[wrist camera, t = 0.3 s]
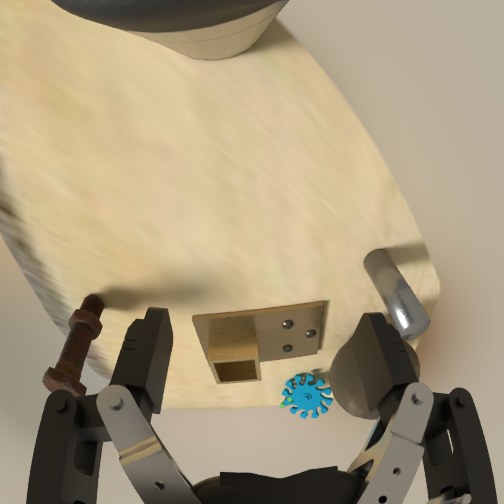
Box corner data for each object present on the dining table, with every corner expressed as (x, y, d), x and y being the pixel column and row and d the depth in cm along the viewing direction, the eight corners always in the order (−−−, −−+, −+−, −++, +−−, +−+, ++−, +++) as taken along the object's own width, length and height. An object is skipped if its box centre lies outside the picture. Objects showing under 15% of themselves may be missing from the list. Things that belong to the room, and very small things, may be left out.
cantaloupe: (388, 349, 48) (414, 415, 36) (319, 367, 49) (336, 439, 37) (404, 300, 40) (445, 376, 28) (321, 319, 41) (348, 409, 28)
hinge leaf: (192, 315, 38) (189, 346, 34) (322, 301, 38) (332, 330, 34) (209, 362, 45) (209, 389, 41) (316, 350, 45) (322, 376, 41)
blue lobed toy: (320, 369, 46) (338, 414, 45) (327, 358, 52) (344, 399, 50) (268, 384, 51) (287, 425, 49) (279, 373, 56) (296, 411, 54)
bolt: (88, 281, 34) (48, 374, 21) (117, 301, 36) (88, 396, 24) (74, 301, 36) (39, 386, 23) (101, 319, 38) (74, 405, 26)
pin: (365, 250, 34) (407, 321, 24) (389, 247, 34) (434, 314, 24) (361, 272, 36) (397, 343, 26) (384, 269, 36) (423, 335, 26)
